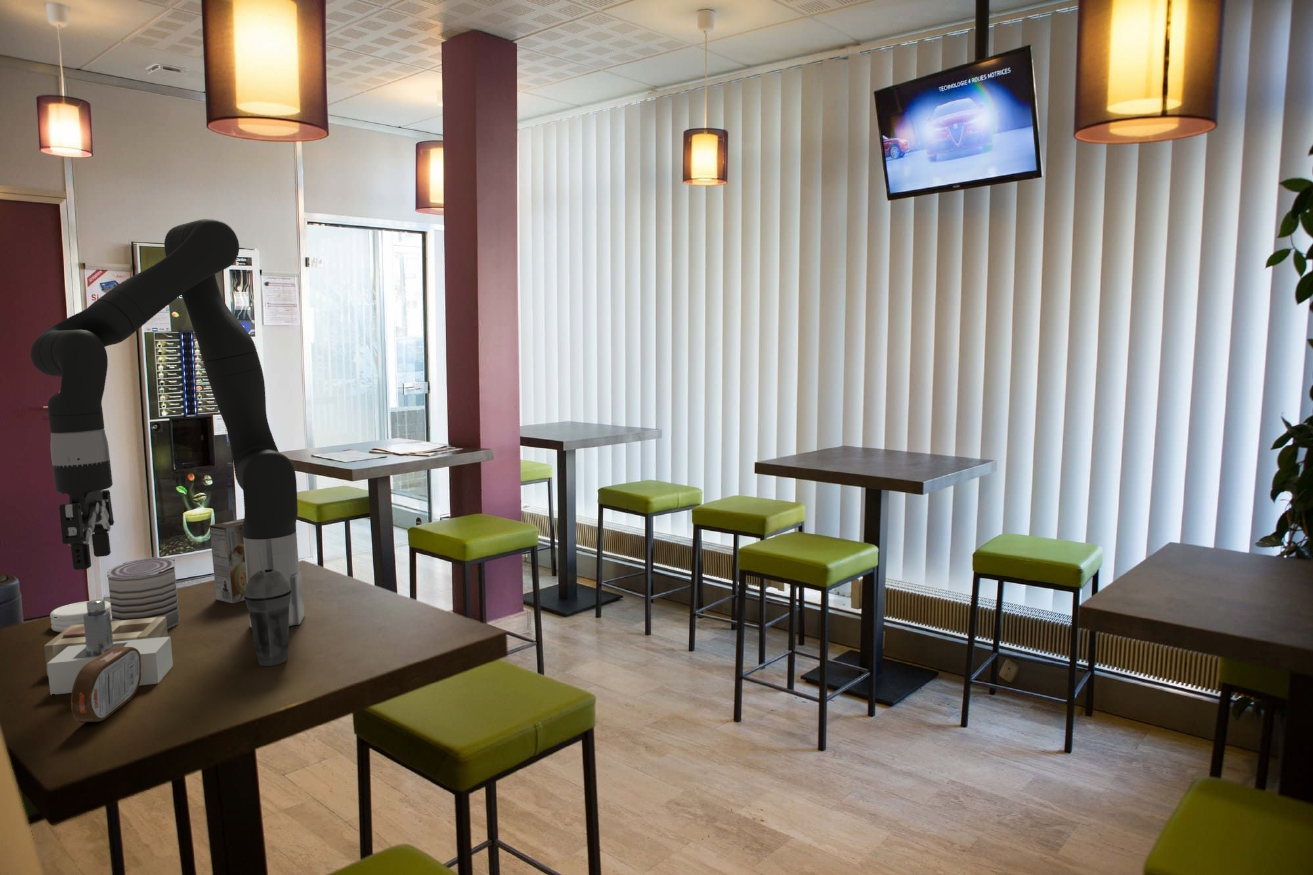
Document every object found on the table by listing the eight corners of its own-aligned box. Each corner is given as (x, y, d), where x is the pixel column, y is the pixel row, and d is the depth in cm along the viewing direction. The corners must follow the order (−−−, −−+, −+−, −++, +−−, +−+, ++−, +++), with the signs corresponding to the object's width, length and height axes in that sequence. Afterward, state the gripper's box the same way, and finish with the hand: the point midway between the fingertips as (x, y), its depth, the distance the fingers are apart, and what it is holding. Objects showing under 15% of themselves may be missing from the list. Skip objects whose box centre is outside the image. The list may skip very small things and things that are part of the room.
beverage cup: (306, 655, 149) (297, 540, 147) (274, 671, 143) (265, 550, 140) (271, 651, 152) (263, 537, 150) (239, 666, 145) (229, 547, 143)
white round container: (47, 636, 164) (45, 618, 163) (55, 622, 173) (54, 604, 172) (110, 627, 168) (108, 609, 168) (115, 613, 177) (113, 596, 177)
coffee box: (255, 588, 192) (249, 516, 190) (272, 592, 189) (267, 519, 187) (214, 599, 184) (208, 524, 183) (232, 604, 181) (226, 527, 179)
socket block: (168, 643, 157) (166, 616, 157) (149, 665, 147) (146, 636, 146) (73, 652, 154) (71, 625, 153) (47, 675, 143) (44, 645, 143)
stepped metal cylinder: (119, 675, 142) (112, 597, 141) (111, 683, 139) (104, 603, 137) (94, 678, 142) (87, 599, 140) (86, 686, 138) (78, 605, 137)
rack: (173, 665, 146) (170, 636, 146) (158, 683, 138) (155, 652, 138) (71, 675, 143) (68, 646, 142) (50, 694, 135) (47, 663, 134)
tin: (126, 690, 136) (122, 637, 135) (148, 689, 136) (143, 636, 135) (70, 733, 121) (64, 674, 120) (94, 732, 121) (89, 673, 121)
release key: (101, 650, 152) (98, 625, 151) (92, 658, 148) (90, 632, 147) (75, 653, 151) (72, 627, 150) (65, 661, 147) (63, 635, 146)
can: (194, 617, 172) (189, 558, 171) (151, 637, 161) (145, 573, 160) (143, 616, 174) (137, 557, 173) (97, 635, 163) (91, 572, 162)
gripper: (91, 464, 130) (103, 571, 132) (123, 452, 144) (134, 549, 146) (33, 468, 128) (46, 576, 130) (71, 456, 142) (83, 554, 144)
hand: (93, 562), depth 138 cm, fingers open, 8 cm apart
